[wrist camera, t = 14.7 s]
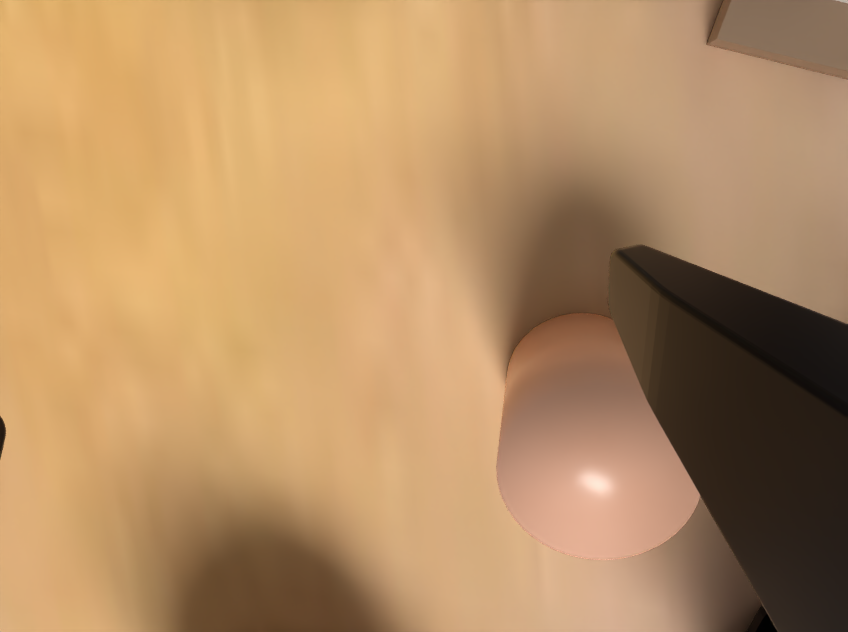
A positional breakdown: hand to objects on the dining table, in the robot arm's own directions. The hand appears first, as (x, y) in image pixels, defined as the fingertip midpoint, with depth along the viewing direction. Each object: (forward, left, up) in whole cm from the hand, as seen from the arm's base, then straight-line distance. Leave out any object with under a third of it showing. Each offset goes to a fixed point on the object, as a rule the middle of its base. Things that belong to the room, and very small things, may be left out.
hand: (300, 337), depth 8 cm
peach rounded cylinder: (-6, +4, -12) cm, 14 cm away
